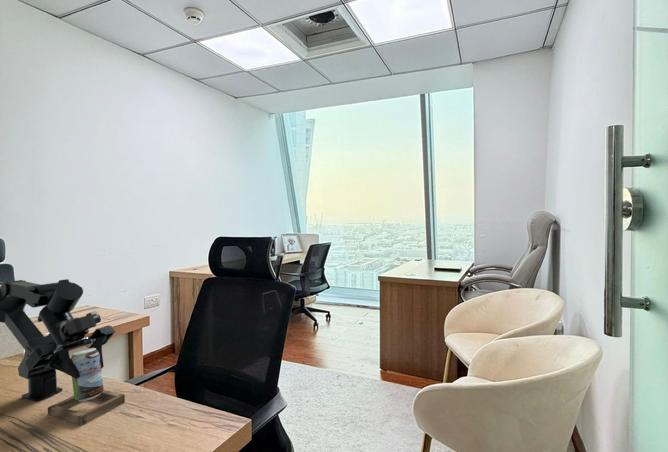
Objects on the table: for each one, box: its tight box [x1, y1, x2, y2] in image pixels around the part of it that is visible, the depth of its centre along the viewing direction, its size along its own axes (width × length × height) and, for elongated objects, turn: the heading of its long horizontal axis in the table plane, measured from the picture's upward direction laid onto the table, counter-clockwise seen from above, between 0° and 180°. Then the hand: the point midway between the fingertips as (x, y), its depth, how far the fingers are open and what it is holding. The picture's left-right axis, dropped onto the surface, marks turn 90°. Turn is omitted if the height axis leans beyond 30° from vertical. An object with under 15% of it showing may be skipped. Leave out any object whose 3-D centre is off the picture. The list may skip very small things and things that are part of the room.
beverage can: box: [70, 348, 105, 402], centre depth 87 cm, size 6×7×12 cm
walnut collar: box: [47, 389, 126, 426], centre depth 87 cm, size 12×11×2 cm
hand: (90, 372), depth 87 cm, fingers closed on beverage can, 5 cm apart
